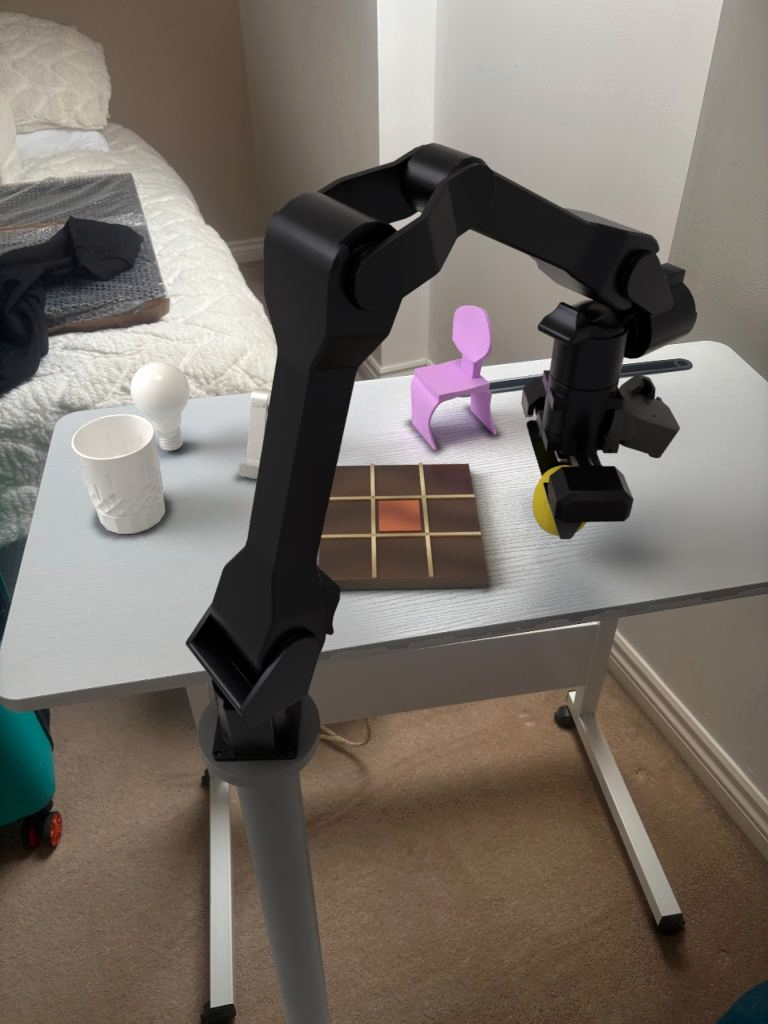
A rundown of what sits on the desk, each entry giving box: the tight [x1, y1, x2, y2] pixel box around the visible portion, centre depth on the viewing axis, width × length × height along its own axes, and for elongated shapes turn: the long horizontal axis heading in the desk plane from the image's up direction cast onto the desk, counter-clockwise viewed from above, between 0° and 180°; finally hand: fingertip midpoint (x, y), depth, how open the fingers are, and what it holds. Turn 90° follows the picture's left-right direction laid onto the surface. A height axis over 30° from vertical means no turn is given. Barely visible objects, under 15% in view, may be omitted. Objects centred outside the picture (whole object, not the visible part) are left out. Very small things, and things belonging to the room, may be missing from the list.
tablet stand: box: [238, 387, 271, 480], centre depth 91 cm, size 9×8×8 cm
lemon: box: [531, 465, 588, 537], centre depth 77 cm, size 6×6×8 cm
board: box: [317, 462, 489, 591], centre depth 85 cm, size 18×16×2 cm
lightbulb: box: [129, 360, 191, 452], centre depth 93 cm, size 6×6×11 cm
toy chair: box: [410, 304, 498, 451], centre depth 95 cm, size 8×9×15 cm
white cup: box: [70, 413, 166, 535], centre depth 84 cm, size 8×8×10 cm
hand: (559, 518), depth 79 cm, fingers closed on lemon, 5 cm apart
